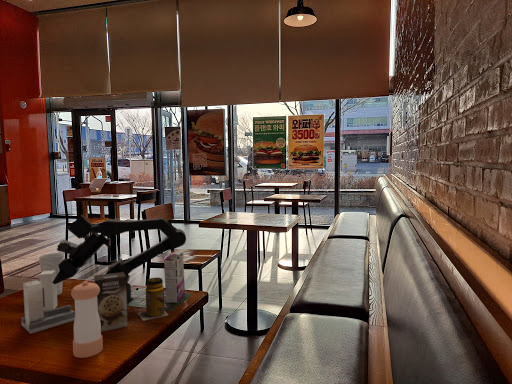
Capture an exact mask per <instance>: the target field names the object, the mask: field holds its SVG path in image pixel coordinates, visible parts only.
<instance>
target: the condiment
mask: <svg viewBox="0 0 512 384" xmlns="http://www.w3.org/2000/svg"><path fill="white" fill-rule="evenodd" d="M163 280H164V279H162V277H150V278H148V279H147V280H146V288H145V311H139V312H137V316H139V317H140V318H141V320H142V321H149V320H153V319H157V318H163V317H167V316H169V313H168V312H166V311H165V307H166V306H165V285H163V284H164V282H163Z"/></svg>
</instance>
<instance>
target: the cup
mask: <svg viewBox="0 0 512 384" xmlns="http://www.w3.org/2000/svg"><path fill="white" fill-rule="evenodd" d="M38 258H39V265H40V271H41V273H42V272H43V271H52V270H56V276H57V274H58V273H59V271H60V270H59V267H58V266H59V264H60V263H61V262H62V261H63V260H64V259H65V253H63V252H61V253H59V252H56V253H54V252H53V253H47V254H43V255H40V256H39V257H38ZM41 273H40V274H41ZM63 281H64V280H63ZM63 281H61V282H59V283H57V296H59V295H61V294H62V293H63Z"/></svg>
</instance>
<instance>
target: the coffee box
mask: <svg viewBox="0 0 512 384" xmlns="http://www.w3.org/2000/svg"><path fill="white" fill-rule="evenodd" d="M93 283H94V284H97V285H98V286H99V288H100V292H99V294H98V295H97V305H98V314H99V318H100V323H101V332H105V331H110V330H116V329H121V328H126V327H128V304H127V295H126V276H125V274H124V272H119V273H111V274H106V273H103V274H96V275H93Z"/></svg>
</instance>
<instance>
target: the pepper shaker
mask: <svg viewBox="0 0 512 384" xmlns="http://www.w3.org/2000/svg"><path fill="white" fill-rule="evenodd" d="M99 292H100V288H99V286H98V285H97V284H94V282H89V281H87V280H85V281H83V282H82V283H80V284H78V285H75V286H74V287H72V290H71V292H70V295H71V297H72V298H73V300H74V311H75V320H74V321H73V327H72V328H73V329H72V330H73V340H72V352H73V356H74V357H76V358H81V359H83V358H89V357H93V356H96V355H98V354H99V353H100V352H101V351H103V348H104V346H103V345H104V343H103V342H104V339H103V334H101V333H102V331H101V323H100V318H99V314H98V305H97V295H98V294H99Z"/></svg>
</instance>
